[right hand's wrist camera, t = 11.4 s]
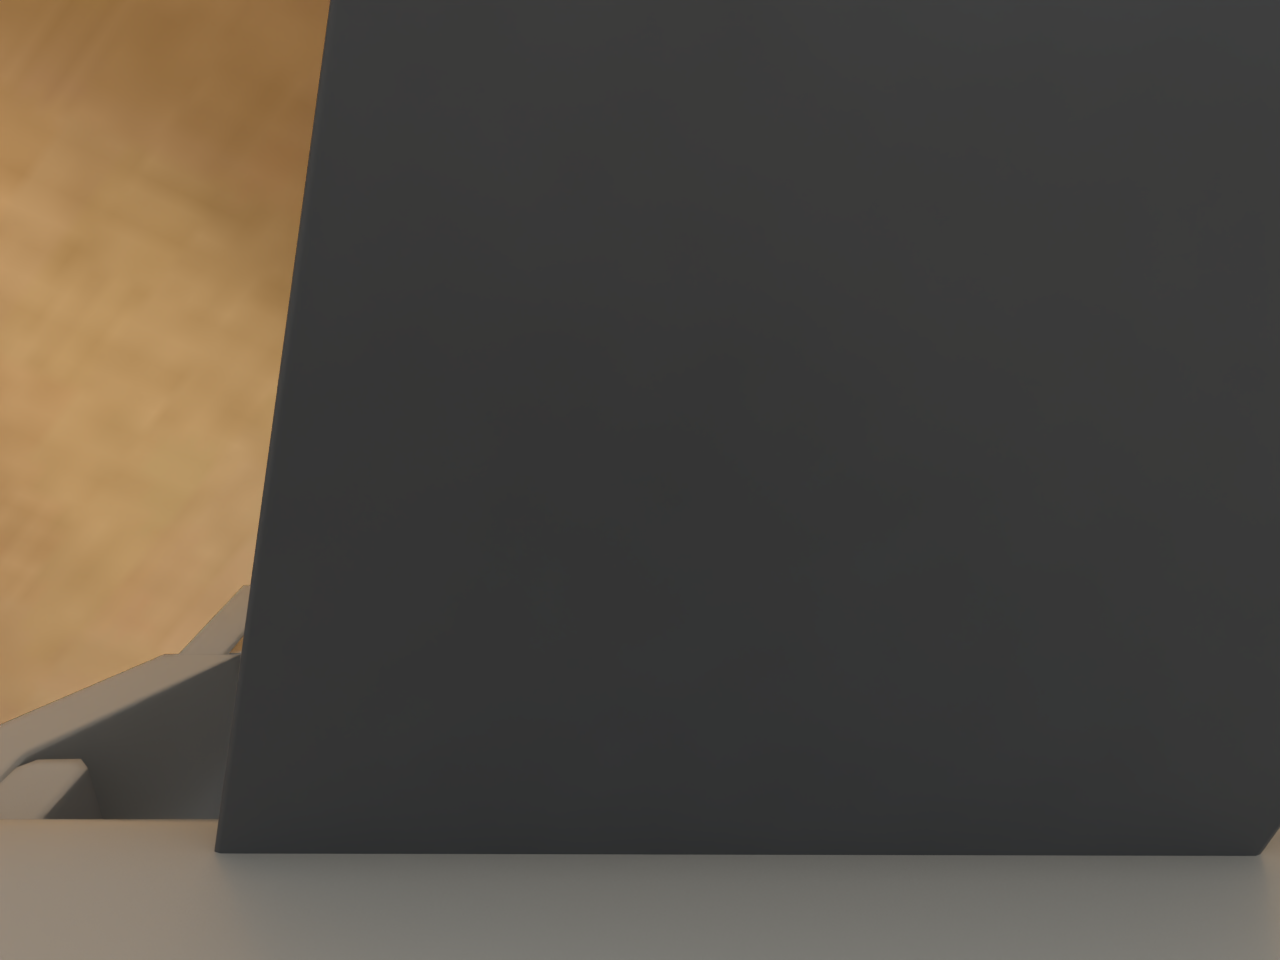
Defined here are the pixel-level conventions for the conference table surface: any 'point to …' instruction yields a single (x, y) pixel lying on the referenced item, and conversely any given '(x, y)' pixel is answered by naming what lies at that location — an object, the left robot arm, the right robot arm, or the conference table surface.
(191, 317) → the conference table surface
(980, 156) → the box
